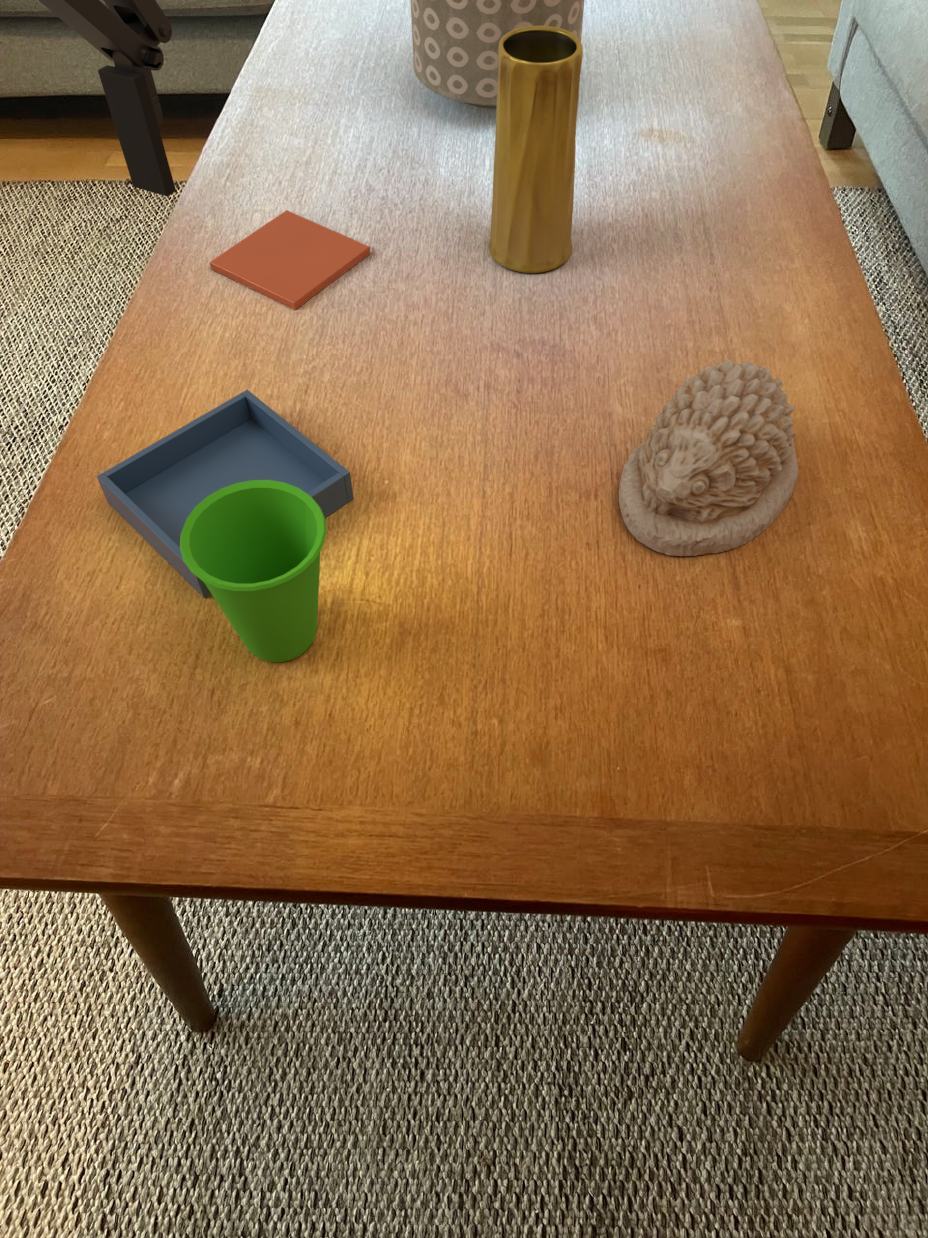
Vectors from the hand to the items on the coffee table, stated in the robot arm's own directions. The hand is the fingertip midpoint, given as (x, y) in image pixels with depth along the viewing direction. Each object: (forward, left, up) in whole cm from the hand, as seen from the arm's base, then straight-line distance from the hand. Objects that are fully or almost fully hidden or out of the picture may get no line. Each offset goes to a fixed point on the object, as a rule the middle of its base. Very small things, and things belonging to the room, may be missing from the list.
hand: (71, 243), depth 55 cm
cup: (0, -12, -26) cm, 28 cm away
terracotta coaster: (+28, +23, -25) cm, 44 cm away
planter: (+66, +33, -25) cm, 78 cm away
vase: (+46, +8, -26) cm, 53 cm away
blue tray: (+5, +1, -25) cm, 26 cm away
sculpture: (+33, -24, -26) cm, 48 cm away
